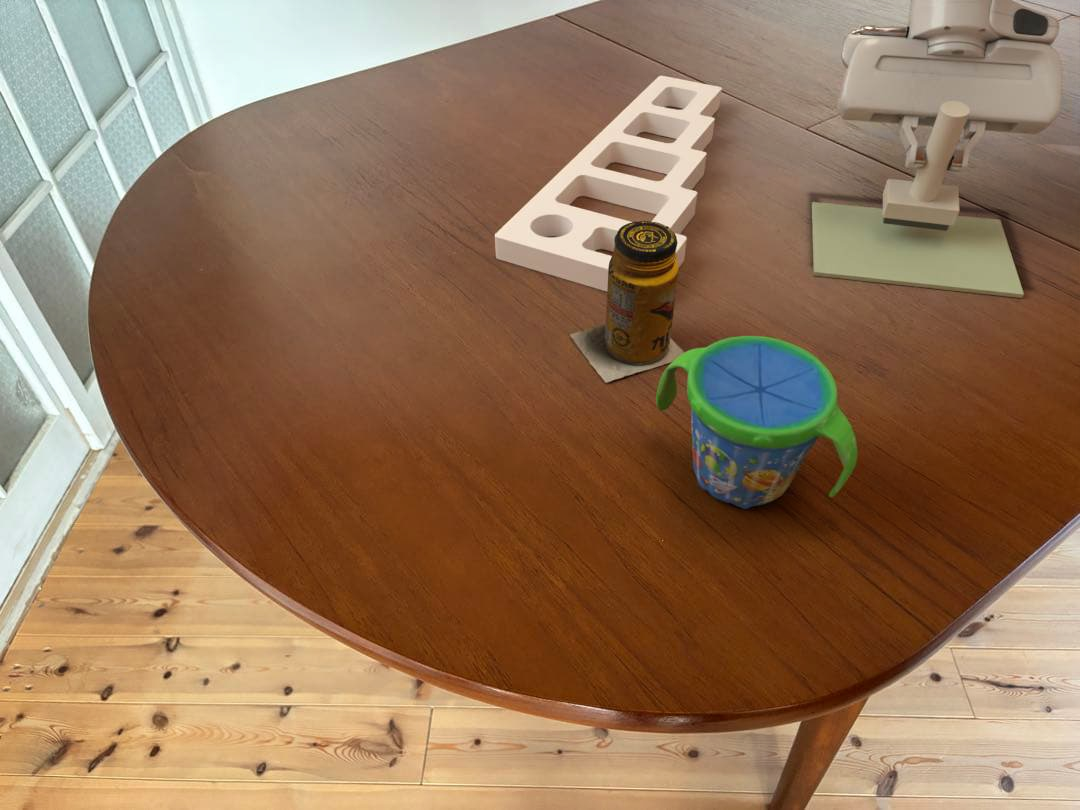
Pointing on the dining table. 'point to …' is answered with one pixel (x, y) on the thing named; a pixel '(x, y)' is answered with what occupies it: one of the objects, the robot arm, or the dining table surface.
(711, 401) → the snack cup
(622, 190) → the holder
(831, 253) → the mat
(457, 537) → the dining table surface
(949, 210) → the brush
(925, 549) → the dining table surface
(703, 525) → the dining table surface
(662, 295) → the condiment
